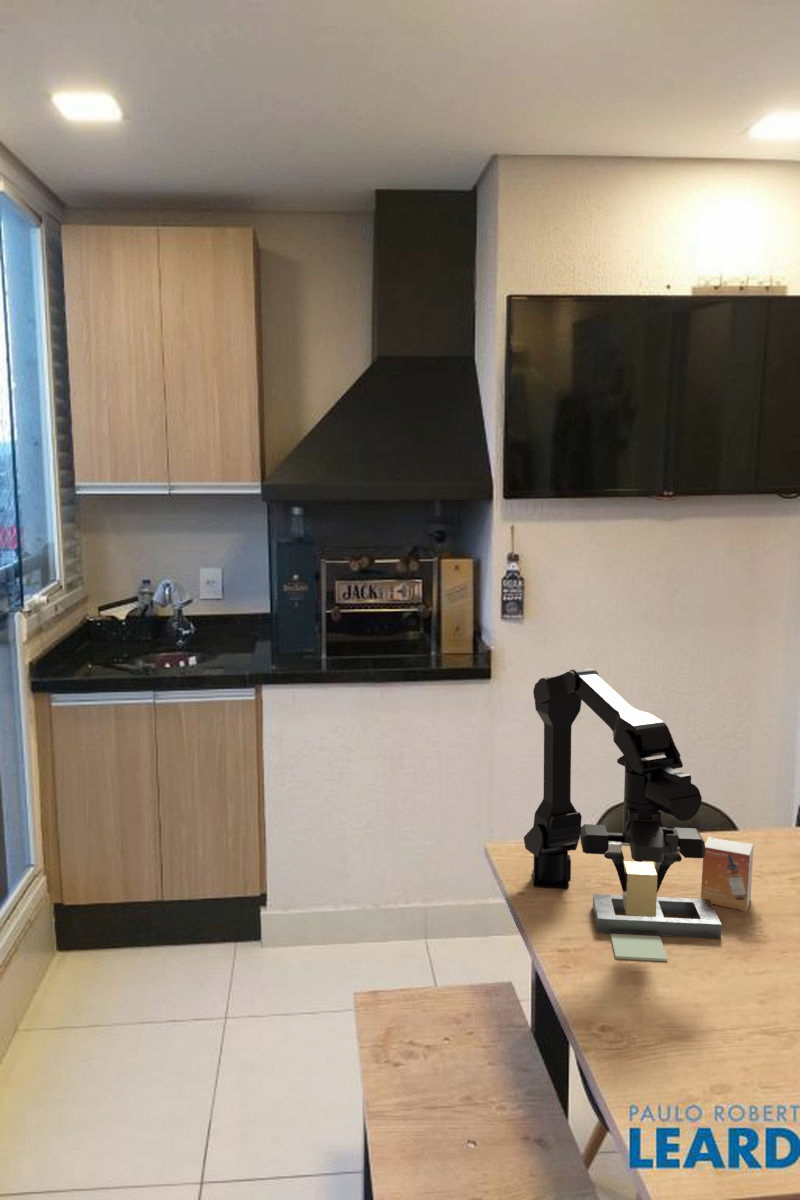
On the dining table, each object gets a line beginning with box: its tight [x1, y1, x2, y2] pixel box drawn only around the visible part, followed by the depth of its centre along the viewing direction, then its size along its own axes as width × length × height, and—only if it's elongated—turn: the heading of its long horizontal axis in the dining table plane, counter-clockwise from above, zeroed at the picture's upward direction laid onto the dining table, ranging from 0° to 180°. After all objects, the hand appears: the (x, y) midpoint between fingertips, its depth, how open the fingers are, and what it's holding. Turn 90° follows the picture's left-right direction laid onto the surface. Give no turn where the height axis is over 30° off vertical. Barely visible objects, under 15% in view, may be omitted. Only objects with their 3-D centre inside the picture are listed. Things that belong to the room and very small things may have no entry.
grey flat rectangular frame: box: [592, 893, 723, 940], centre depth 155 cm, size 20×9×2 cm, turn 83°
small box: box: [700, 836, 755, 912], centre depth 162 cm, size 8×6×10 cm
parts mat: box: [610, 933, 668, 962], centre depth 146 cm, size 8×7×1 cm
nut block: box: [622, 860, 658, 917], centre depth 145 cm, size 5×5×7 cm
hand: (639, 891), depth 145 cm, fingers closed on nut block, 5 cm apart
